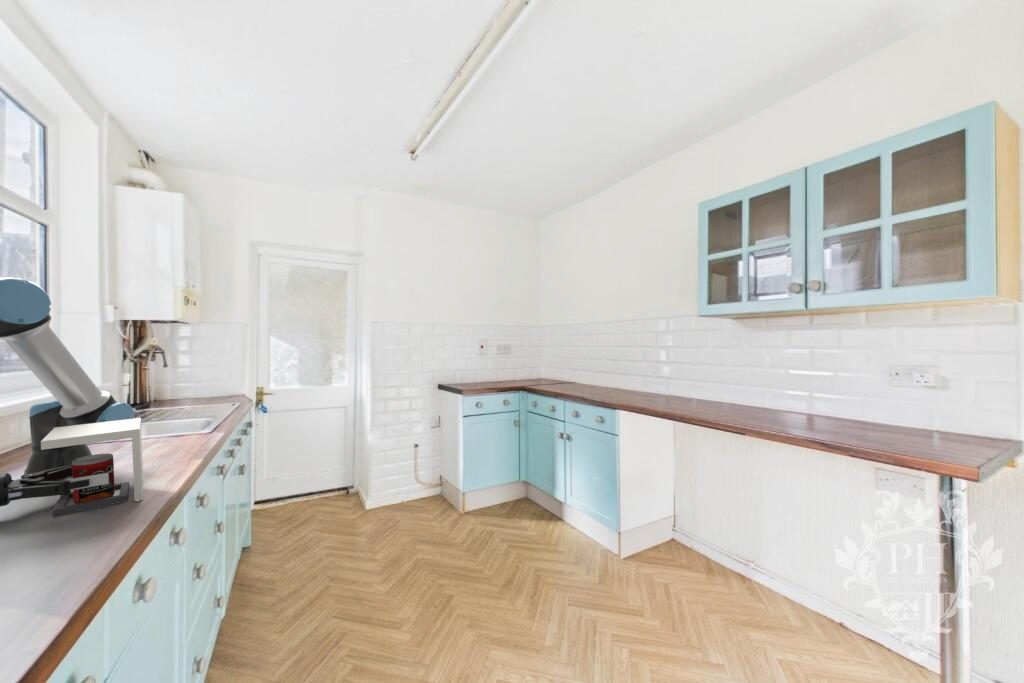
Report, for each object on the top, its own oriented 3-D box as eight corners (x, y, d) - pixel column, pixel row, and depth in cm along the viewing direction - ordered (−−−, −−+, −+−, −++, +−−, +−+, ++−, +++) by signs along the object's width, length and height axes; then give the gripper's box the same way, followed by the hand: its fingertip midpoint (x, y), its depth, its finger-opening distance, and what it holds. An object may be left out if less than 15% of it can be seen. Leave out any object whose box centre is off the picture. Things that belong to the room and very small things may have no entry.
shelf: (44, 521, 96) (40, 441, 95) (57, 497, 109) (54, 427, 108) (142, 500, 107) (139, 428, 106) (143, 481, 120) (140, 417, 120)
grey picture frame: (53, 516, 98) (52, 510, 98) (61, 499, 108) (61, 494, 108) (127, 500, 107) (126, 495, 107) (129, 486, 116) (128, 481, 116)
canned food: (78, 508, 102) (76, 464, 102) (69, 501, 106) (67, 459, 106) (119, 497, 108) (117, 456, 108) (109, 490, 113) (108, 451, 112)
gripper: (-1, 492, 105) (114, 472, 119) (-35, 528, 86) (107, 499, 100) (-3, 464, 104) (113, 447, 118) (-37, 493, 86) (106, 469, 100)
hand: (110, 471), depth 109 cm, fingers open, 13 cm apart
